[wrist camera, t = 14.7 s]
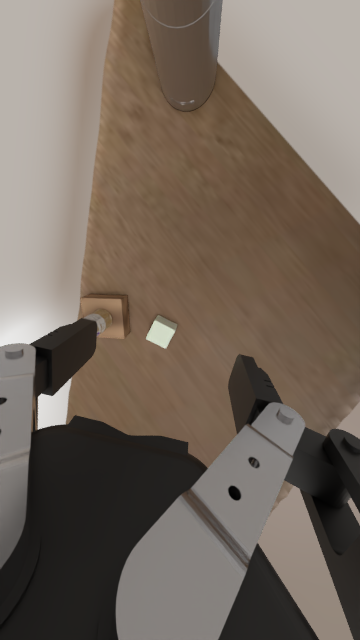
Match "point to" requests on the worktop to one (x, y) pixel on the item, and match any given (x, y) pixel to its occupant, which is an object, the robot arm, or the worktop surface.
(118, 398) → the worktop surface
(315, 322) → the worktop surface
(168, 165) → the worktop surface
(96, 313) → the sprinkles bottle
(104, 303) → the walnut block
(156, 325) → the sage block
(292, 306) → the worktop surface
